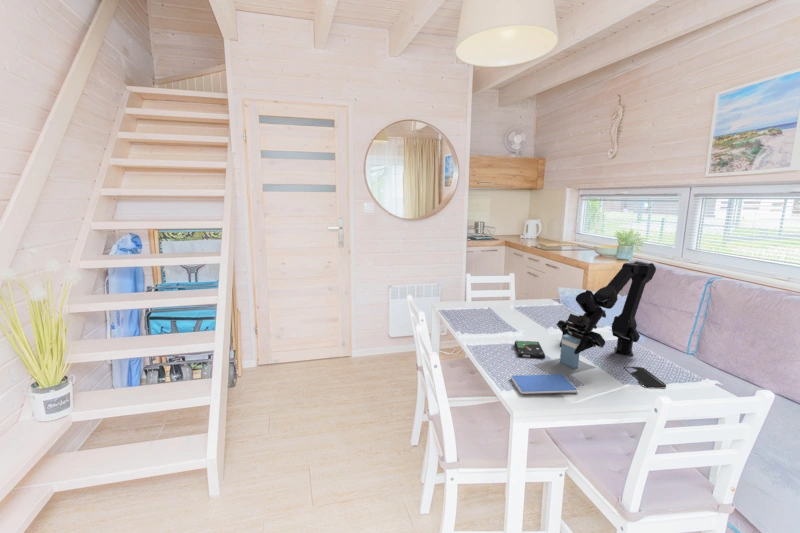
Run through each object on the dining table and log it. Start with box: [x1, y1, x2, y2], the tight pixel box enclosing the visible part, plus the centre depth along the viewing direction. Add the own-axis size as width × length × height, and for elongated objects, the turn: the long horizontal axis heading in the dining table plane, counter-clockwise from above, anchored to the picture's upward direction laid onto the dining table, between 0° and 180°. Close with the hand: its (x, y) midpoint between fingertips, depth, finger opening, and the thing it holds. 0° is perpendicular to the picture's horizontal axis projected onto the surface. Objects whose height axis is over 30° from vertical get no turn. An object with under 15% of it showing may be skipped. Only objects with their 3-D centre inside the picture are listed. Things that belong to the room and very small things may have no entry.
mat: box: [533, 357, 596, 377], centre depth 151 cm, size 20×12×1 cm, turn 116°
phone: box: [623, 366, 667, 388], centre depth 143 cm, size 8×1×15 cm
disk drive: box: [514, 340, 546, 360], centre depth 166 cm, size 10×3×15 cm
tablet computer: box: [510, 373, 579, 395], centre depth 136 cm, size 19×13×1 cm, turn 91°
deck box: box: [559, 334, 581, 368], centre depth 151 cm, size 3×6×11 cm, turn 26°
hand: (567, 350), depth 150 cm, fingers closed on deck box, 6 cm apart
